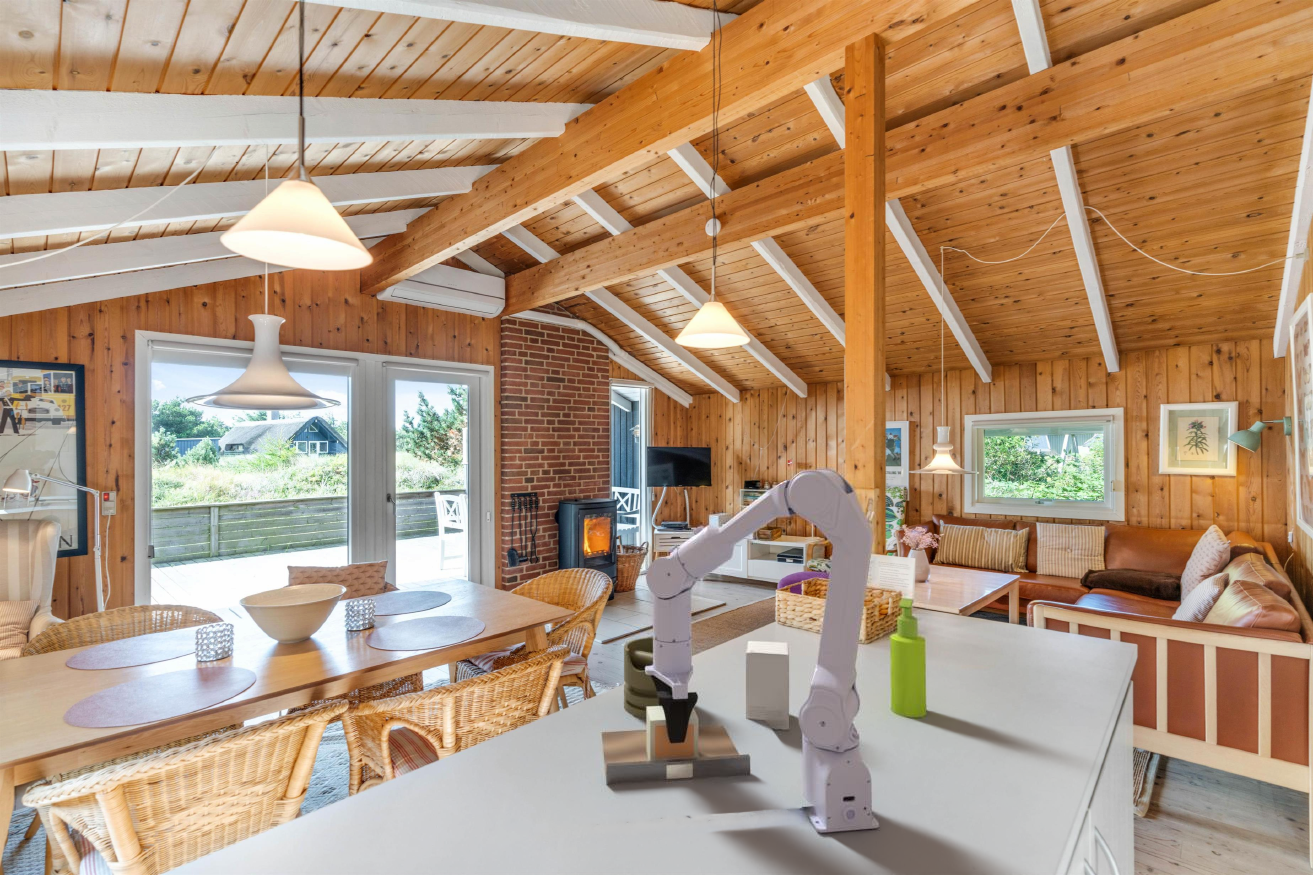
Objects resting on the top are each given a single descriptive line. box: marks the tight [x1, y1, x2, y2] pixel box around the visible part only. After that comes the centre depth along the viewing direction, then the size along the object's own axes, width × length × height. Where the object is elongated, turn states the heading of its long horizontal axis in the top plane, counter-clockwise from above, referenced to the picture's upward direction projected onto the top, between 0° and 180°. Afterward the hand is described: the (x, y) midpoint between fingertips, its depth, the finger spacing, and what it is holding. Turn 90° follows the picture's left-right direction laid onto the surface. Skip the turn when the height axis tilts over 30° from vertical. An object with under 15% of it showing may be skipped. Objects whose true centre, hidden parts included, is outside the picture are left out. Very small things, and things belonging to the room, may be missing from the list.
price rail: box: [605, 754, 751, 785], centre depth 85 cm, size 1×20×2 cm, turn 97°
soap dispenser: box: [889, 597, 927, 719], centre depth 111 cm, size 6×7×20 cm
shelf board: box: [601, 724, 744, 786], centre depth 93 cm, size 16×20×2 cm
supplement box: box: [745, 640, 790, 731], centre depth 108 cm, size 7×7×13 cm
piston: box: [623, 636, 659, 720], centre depth 111 cm, size 11×12×11 cm
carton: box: [645, 706, 699, 761], centre depth 91 cm, size 5×7×6 cm
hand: (672, 729), depth 91 cm, fingers open, 7 cm apart
